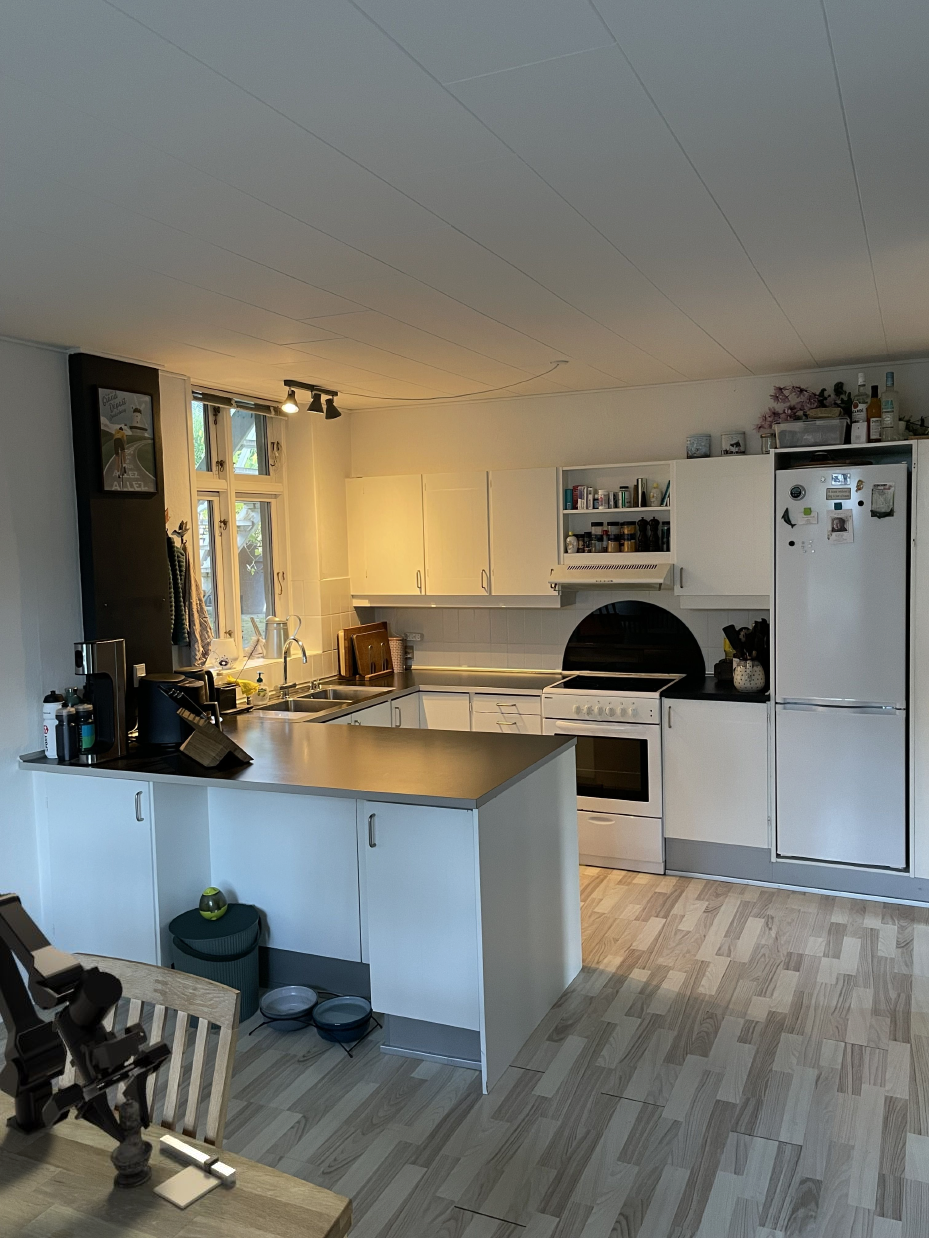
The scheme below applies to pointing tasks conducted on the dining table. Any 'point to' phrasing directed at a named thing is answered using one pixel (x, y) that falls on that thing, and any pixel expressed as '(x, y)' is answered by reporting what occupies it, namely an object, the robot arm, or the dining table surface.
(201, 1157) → the white rectangular bar
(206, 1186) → the groove pad
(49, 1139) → the dining table surface
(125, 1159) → the dark grey tiered figure
